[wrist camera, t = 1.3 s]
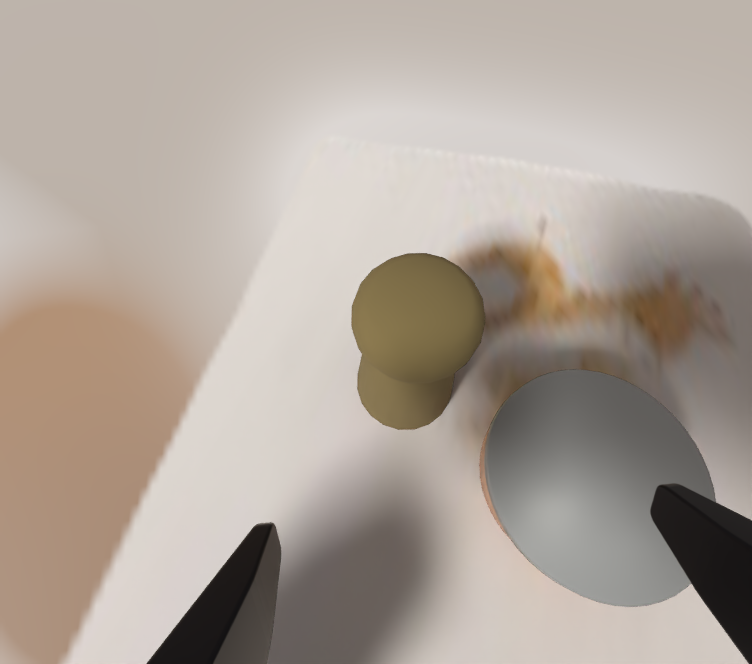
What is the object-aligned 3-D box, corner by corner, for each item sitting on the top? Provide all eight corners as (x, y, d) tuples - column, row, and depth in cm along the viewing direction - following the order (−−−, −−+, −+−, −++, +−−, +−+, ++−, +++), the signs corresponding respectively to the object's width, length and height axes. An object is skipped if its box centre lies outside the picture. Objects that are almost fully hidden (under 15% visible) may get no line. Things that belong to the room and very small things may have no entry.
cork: (351, 345, 24) (326, 239, 14) (439, 330, 24) (480, 217, 14) (364, 437, 21) (347, 393, 11) (463, 420, 22) (532, 362, 11)
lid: (696, 646, 14) (713, 655, 14) (458, 540, 16) (462, 542, 15) (706, 415, 18) (719, 412, 17) (511, 347, 20) (515, 342, 19)
